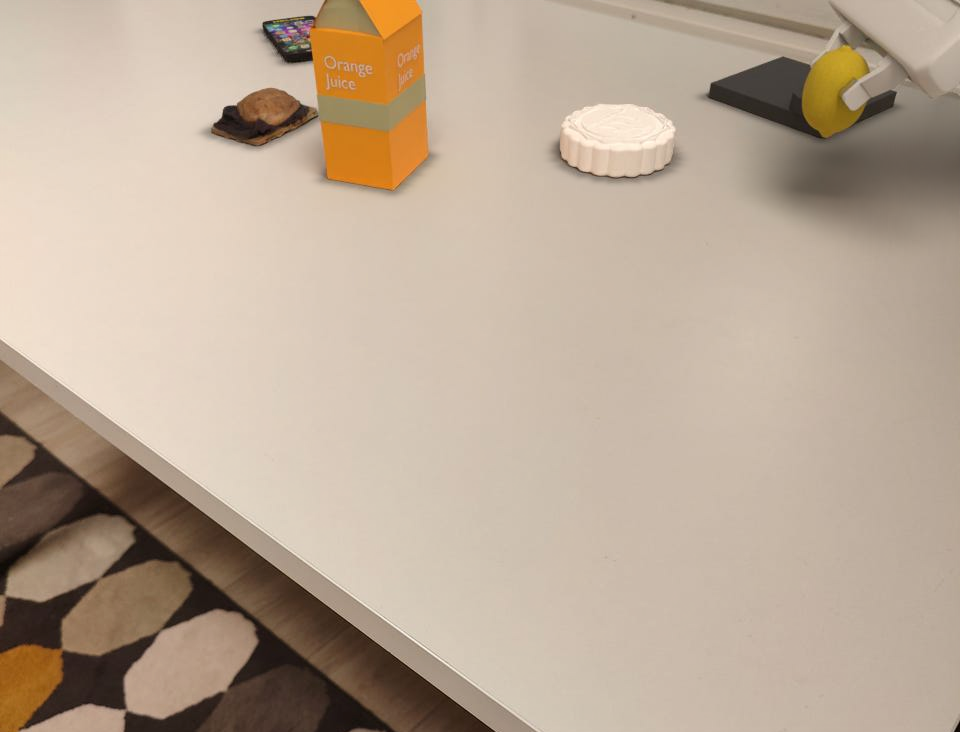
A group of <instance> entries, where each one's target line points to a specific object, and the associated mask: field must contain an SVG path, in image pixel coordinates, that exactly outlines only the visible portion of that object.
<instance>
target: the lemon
mask: <svg viewBox="0 0 960 732" xmlns="http://www.w3.org/2000/svg"><path fill="white" fill-rule="evenodd" d="M870 72H871V71H870V67H869V65H868V62H867V60H866V59H865V58H864V56H863V55H861V54H860V53H859V52H857V51H856V50H852V49H851V47H850V46H849V45H843V46H841V47H840V48H839V49H835V50H832V51H830V52H828V53H826V54H824V55H823V56H822V57H820V58H819V59H818V60H817V62H816V63H815V64H814V65H813V67H812V68H811V70H810V72H809V74H808V77H807V79H806V82H805V85H804V89H803V95H802V110H803V114H804V117H805V119H806V120H807V122H808V123H809V125H810V126H812V127H813V128H814V129H816V130H818V131H819V132H820V134H821V135H822V137H824V138H825V139H828V138H830V137H832V136H833V135H835V134H836V133H840V132H842V131H845V130H847V129H849V128H850V127H852V125H854V124H853V123H855V122H856V121H857V119H858V118H859V117H860V115H861V114H862V112H863V110H864V108H865V105H866V102H867V101H866V102H865V103H864V104H863V105H862V106H860V107H859V108H858V109H857V110H855V111H852V110H850V109H849V108H848V107H847V106H846V105H845V104H844V102H843V101H842V100H841V99H840V97H839V96H838V92H839V90H840V89H841V88H842V87H843V86H845V85H846V84H847V83H848V82H849V81H850V80H851V79H852V78H853V77H854V78H855V79H856V80H858V79H860V78H862V77H863V76H865V75H867V74H868V73H870ZM855 124H856V123H855Z"/></svg>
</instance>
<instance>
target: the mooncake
mask: <svg viewBox="0 0 960 732" xmlns="http://www.w3.org/2000/svg"><path fill="white" fill-rule="evenodd" d="M676 135H677V128H676V127H675V126H674V123H673V120H671V119H669V118H667V117H666V116H665V114H663V113H659V112H655V110H653V109H651V108H650V107H646V106H639V105H636V104H634V103H627V104H621V103H620V104H619V103H618V104H617V103H616V104H607V103H597V104H595V105H592V106H590V105H589V106H583V108H582V109H578V110H575V111H574V110H573V112H571V114H570V115H567V116H565V117H564V120H563V122H562V123H561V124H560V137H559V139H560V141H559V151H560V152H561V155H560V156H561V159H563V160H564V161H567V164H568V165H569V166H570V167H573V168H578V170H579V171H581V172H582V173H591V174H593V175H594V176H600V177H604V176H608V177H611V178H621V177H627V178H635V177H638V176H640V175H643V176H647V175H650V174H652V173H653V172H655V171H661V170H663V169H664V168H665V166H666V165H668V164H670V163H671V162H672V156H673V155H674V149H675V148H674V147H675V142H676Z"/></svg>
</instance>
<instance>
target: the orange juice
mask: <svg viewBox="0 0 960 732" xmlns="http://www.w3.org/2000/svg"><path fill="white" fill-rule="evenodd" d="M423 13H424V12H423V10H422V8H421V6H420V5H419V4H418V2H417V0H324V1H323V2H322V5H321V7H320V9H319V11H318V13H317V15H316V16H315V17H316V19H315V21H314V23H313V25H312V27H311V28H310V29H309V32H310V39H311V47H312V55H313V59H312V62H313V70H314V79H315V85H316V88H315V89H316V101H317V108H318V115H319V122H320V126H321V129H320V130H321V136H322V144H323V152H324V160H325V168H326V176H327V179H328V180H332V181H338V182H345V183H351V184H355V185H361V186H367V187H373V188H377V189H384V190H391V191H395V189H397V187H398V186H400V184H402V183H403V182H404V181H405V180H406V179H407V178H408V177H409V176H410V175H411V174H412V173H413V172H414V171H415V170H416V169H417V168H418V167H419V166H420V165H421V164H422V163H423V162H424V161H425V160H426V159H427V158H428V157H429V144H428V143H429V141H428V120H427V119H428V118H427V117H428V116H427V88H426V87H427V86H426V73H425V56H424V36H423Z"/></svg>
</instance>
